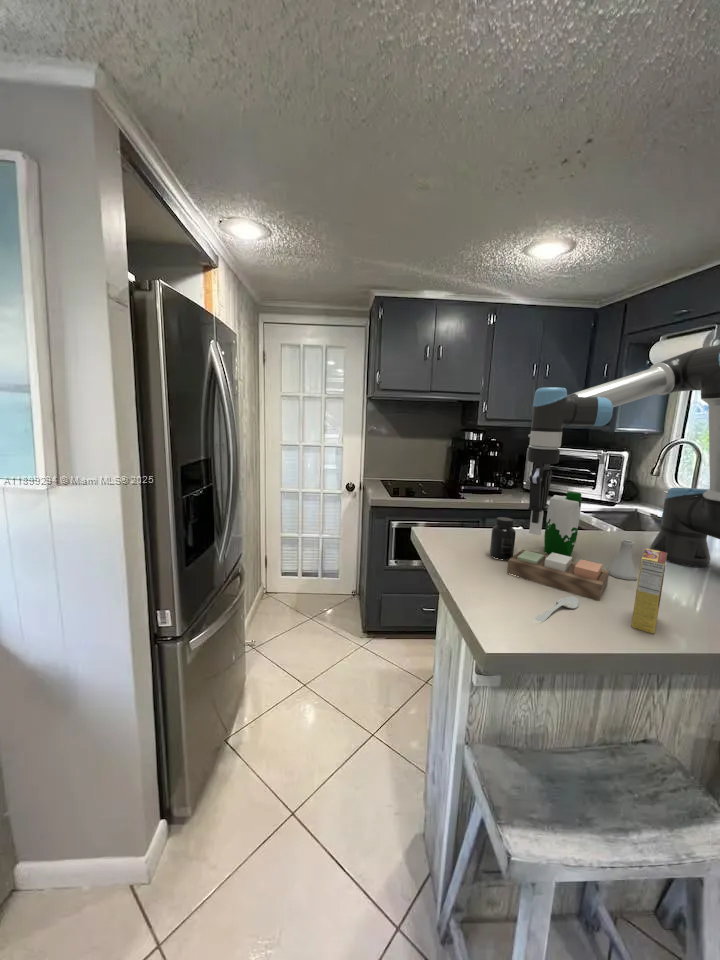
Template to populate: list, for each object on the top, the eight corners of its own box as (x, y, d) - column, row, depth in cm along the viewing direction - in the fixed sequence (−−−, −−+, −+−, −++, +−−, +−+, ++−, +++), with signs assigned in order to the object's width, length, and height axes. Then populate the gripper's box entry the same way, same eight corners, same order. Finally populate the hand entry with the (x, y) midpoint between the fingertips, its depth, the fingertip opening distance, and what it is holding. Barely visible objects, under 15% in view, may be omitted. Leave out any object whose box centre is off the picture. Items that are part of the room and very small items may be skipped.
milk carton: (571, 559, 120) (581, 496, 117) (540, 552, 125) (548, 491, 122) (575, 552, 127) (584, 492, 124) (545, 545, 133) (553, 487, 129)
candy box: (633, 611, 89) (645, 547, 86) (657, 618, 86) (669, 552, 84) (628, 626, 82) (641, 557, 80) (654, 635, 79) (667, 563, 77)
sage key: (542, 568, 110) (543, 554, 110) (534, 575, 105) (536, 561, 104) (523, 563, 113) (525, 550, 113) (515, 570, 108) (517, 556, 107)
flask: (642, 582, 106) (648, 547, 104) (612, 579, 107) (618, 544, 105) (629, 572, 113) (635, 538, 111) (602, 569, 114) (607, 536, 112)
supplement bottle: (515, 556, 121) (519, 518, 119) (510, 562, 116) (514, 523, 113) (492, 551, 125) (496, 514, 123) (486, 557, 119) (490, 519, 117)
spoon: (583, 606, 91) (584, 600, 91) (536, 633, 79) (537, 625, 79) (565, 599, 95) (566, 592, 94) (517, 623, 82) (518, 616, 82)
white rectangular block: (570, 571, 106) (572, 557, 105) (564, 579, 100) (566, 564, 100) (550, 566, 109) (552, 552, 108) (543, 573, 104) (545, 558, 103)
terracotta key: (600, 579, 101) (602, 564, 101) (595, 587, 96) (597, 572, 95) (578, 573, 105) (580, 559, 104) (572, 581, 99) (574, 566, 98)
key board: (607, 585, 103) (609, 570, 102) (599, 600, 94) (601, 584, 93) (521, 562, 116) (522, 549, 116) (506, 573, 107) (508, 559, 107)
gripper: (536, 445, 111) (528, 525, 115) (521, 447, 101) (513, 535, 105) (565, 447, 106) (555, 531, 110) (553, 450, 96) (542, 542, 100)
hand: (535, 533), depth 107 cm, fingers closed
